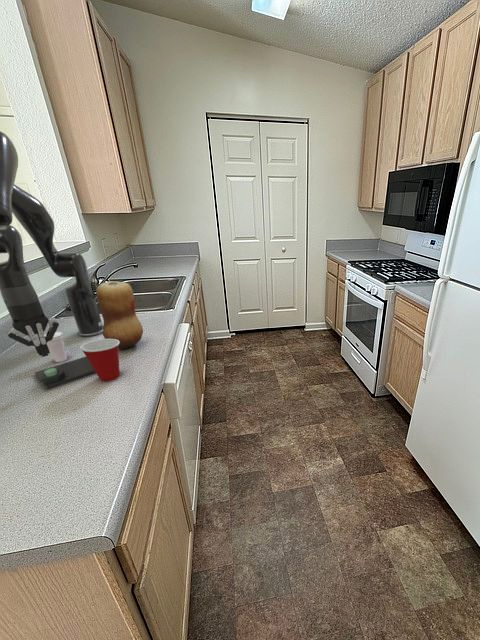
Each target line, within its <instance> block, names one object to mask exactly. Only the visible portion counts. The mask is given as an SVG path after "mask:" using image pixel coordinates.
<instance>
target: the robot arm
mask: <svg viewBox="0 0 480 640" xmlns="http://www.w3.org/2000/svg"><path fill="white" fill-rule="evenodd" d="M18 167H19V155H18V152H17V149H16V146H15V145H14V143H13V141H12V140H11V139H10V138H9V136H8V135H7V134H5V132H3V131H1V130H0V254H7V255H8V259H7V260H5V261H1V262H0V295H1V298H2V300H3V302H4V306H5V307H6V309H7V311H8V313H9V316H10V318H11V321H12V325H11V326H12V328H11V329H10V330H9V331H7V332H6V336H8V337H9V338H10V339H12V340H13V341H16V342H18V343H20V344H22V345H24V346H26V347H34V348H35V350H36V354H38V356H40V357H42V358H44V357H48V356H49V354H50V351H49V349H48V346H47V342H48V341H51V340H52V339H53V337H54V334H55V332H57V330H58V328H59V326H60V322H57V321H56V320H51V319H49V317H47V316H46V315H45V313H44V310H43V307H42V305H41V302H40V300H39V296H38V294H37V292H36V289H35V288H34V287H33V285H32V282H31V280H30V277H29V274H28V271H27V269H26V265H25V260H24V253H23V252H24V245H23V244H24V243H23V238H22V234H21V233H20V232H19V231H18V229H17V228H16V227H15V226H13V225H11V224H12V223H13V217H15V218H16V220H17V221H18V222H19V225H21V227H22V228H23V229H24V230H25V232H26V233H27V234H28V235H29V237H30V238H31V240H32V241H33V242H34V244H35V245H36V246H37V248H38V250H39V252H40V253H41V255H42V256H43V258H44V259H45V261H46V263H47V265H48V266H49V268H50V269H51V270H52V273H54V274H55V275H56V276H57V277H59V278H75V282H74V283H73V284H70V285H68V286H66V287H65V288H64V292H65V295H66V298H67V302H68V303H69V304H68V305H67V304H66V305H67V306H66V305H65V308H66V309H67V310H70V311H71V313H72V315H73V318H74V321H75V324H76V327H77V331H78V334H79V336H80V337H92V336H97V335H101V334H103V326H104V323H103V321H102V318H101V313H100V310H99V307H98V305H97V304H98V303H97V301H96V299H95V298H96V297H95V295H94V292H93V289H92V282H91V278H90V274H89V270H88V266H87V262H86V260H85V258H84V256H83V255H82V253H80V252H74V251H73V252H59V251H58V249H57V248H56V247H55V245H54V235H55V221H54V220H53V218H52V216H51V214H50V213H49V211H48V210H47V208H46V207H45V205H44V203H42V202H41V201H40V200H39V199H38V198H36V197H35V196H34V195H32V194H31V193H29V192H27V191H26V190H24V189H22V188H21V187H19V186H18V185H17V184H15V182H16V177H17V171H18ZM48 326H49V327H50V328H49V327H48ZM47 327H48V330H47V332H46V333H44V332H45V331H46V329H47ZM20 333H21V334H23V335H25V336H28V338H29V339H30V340H28V339H27V338H24V337H22V336H20ZM44 334H46V336H44Z"/></svg>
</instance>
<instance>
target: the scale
mask: <svg viewBox="0 0 480 640" xmlns="http://www.w3.org/2000/svg"><path fill="white" fill-rule="evenodd" d="M51 368H56V369H57V372H58V374H56V375H54V376H50V377H46V375H45V373H44V372H45V371H46V370H48V369H51ZM34 374H35V376H36V377H37V378H38V380H39V381H40V383H41V384H42V385H43V386H44V388H45V389H46V390H48V391H49V390H51V389H54V388H57V387H60V386H62V385H65V384H68V383H71V382H74V381H77V380H80V379H84V378H86V377H90V376H92V375H95V374H96V372H95V371H94V369H93V367H92V365H91V364H90V362H89V360H88V358H87V357H86V356H83V357H79V358H77V359H73V360H69V361H67V362H63V363H60V364H57V365H54V366H50V367H47V368H44V369H40V370H37V371H34Z"/></svg>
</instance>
